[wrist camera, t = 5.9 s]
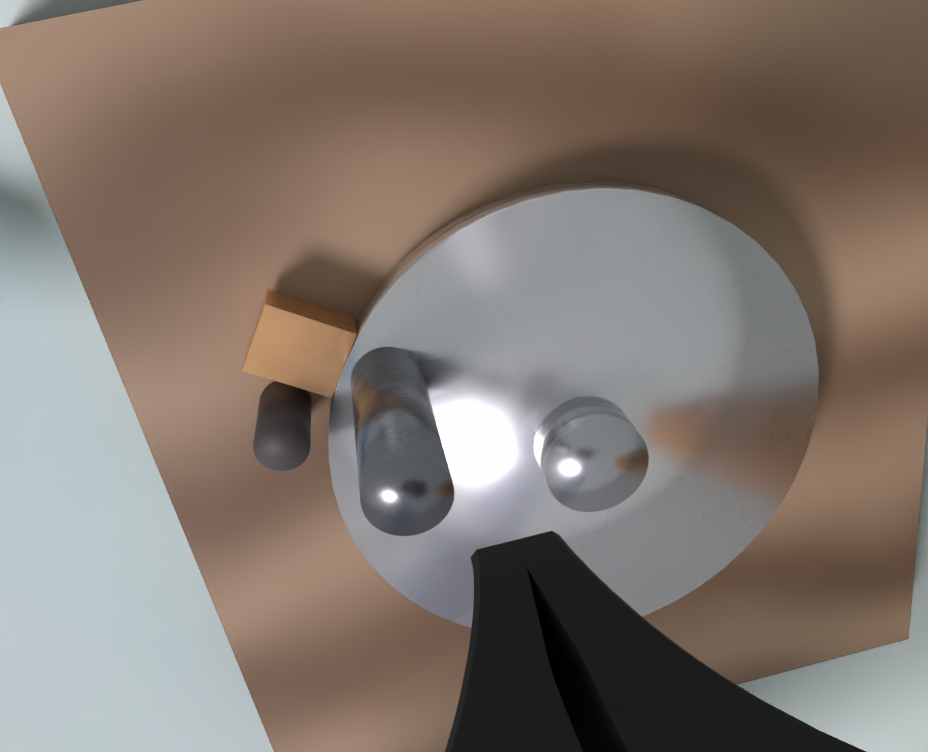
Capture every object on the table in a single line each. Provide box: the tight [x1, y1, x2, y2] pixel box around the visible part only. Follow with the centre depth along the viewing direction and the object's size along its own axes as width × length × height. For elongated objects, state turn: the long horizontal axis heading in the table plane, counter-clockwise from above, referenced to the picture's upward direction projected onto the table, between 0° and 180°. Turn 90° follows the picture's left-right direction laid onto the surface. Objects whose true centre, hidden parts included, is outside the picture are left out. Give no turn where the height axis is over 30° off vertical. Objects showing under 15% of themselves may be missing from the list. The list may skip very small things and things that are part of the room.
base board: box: [0, 0, 928, 752], centre depth 20 cm, size 22×20×4 cm
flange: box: [242, 180, 819, 628], centre depth 18 cm, size 14×12×6 cm
